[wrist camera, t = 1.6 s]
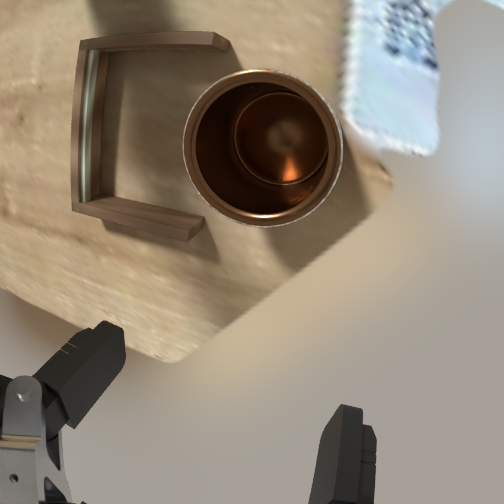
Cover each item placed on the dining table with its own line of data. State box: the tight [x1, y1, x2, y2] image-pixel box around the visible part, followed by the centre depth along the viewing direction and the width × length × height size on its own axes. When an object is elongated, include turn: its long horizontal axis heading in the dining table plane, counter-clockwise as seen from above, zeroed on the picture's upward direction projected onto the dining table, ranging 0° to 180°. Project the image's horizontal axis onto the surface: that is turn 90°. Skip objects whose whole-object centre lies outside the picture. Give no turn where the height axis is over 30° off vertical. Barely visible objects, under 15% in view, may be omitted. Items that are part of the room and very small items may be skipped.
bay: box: [71, 31, 229, 242], centre depth 29 cm, size 19×15×4 cm
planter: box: [183, 68, 343, 228], centre depth 24 cm, size 11×11×10 cm
